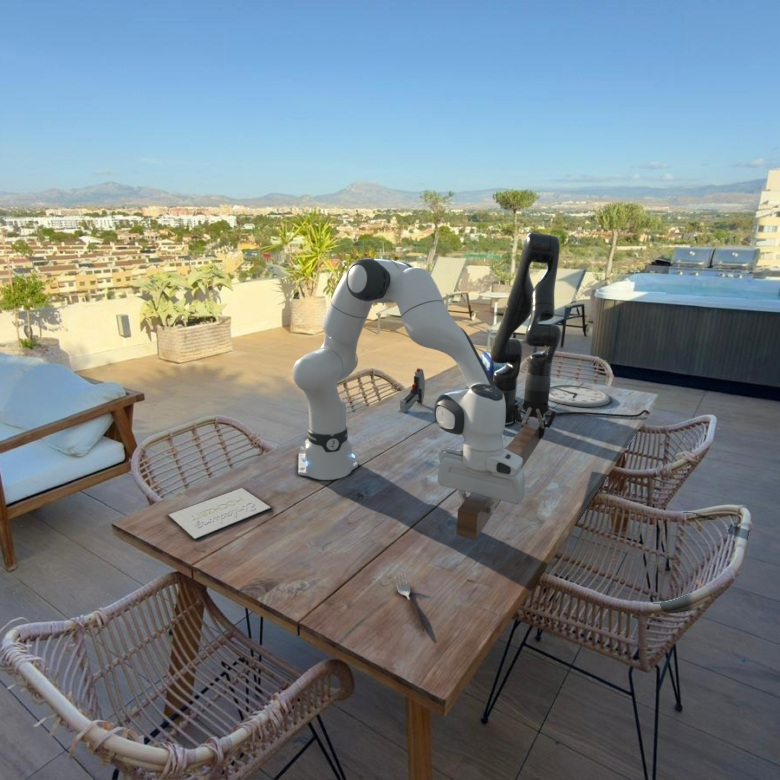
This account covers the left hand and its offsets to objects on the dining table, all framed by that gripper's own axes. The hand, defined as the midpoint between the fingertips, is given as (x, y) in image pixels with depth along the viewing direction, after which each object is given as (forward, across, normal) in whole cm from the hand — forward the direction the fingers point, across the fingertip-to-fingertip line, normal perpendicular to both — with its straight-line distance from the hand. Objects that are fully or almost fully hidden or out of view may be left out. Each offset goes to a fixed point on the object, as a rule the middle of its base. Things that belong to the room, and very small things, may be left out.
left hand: (478, 509), depth 123 cm
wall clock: (+10, +2, +135) cm, 136 cm away
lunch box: (+10, -31, +111) cm, 116 cm away
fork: (+10, -4, -27) cm, 29 cm away
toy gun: (+10, -56, +83) cm, 101 cm away
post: (+3, 0, +28) cm, 28 cm away
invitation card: (+10, -64, -19) cm, 68 cm away
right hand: (+2, 0, +56) cm, 56 cm away
